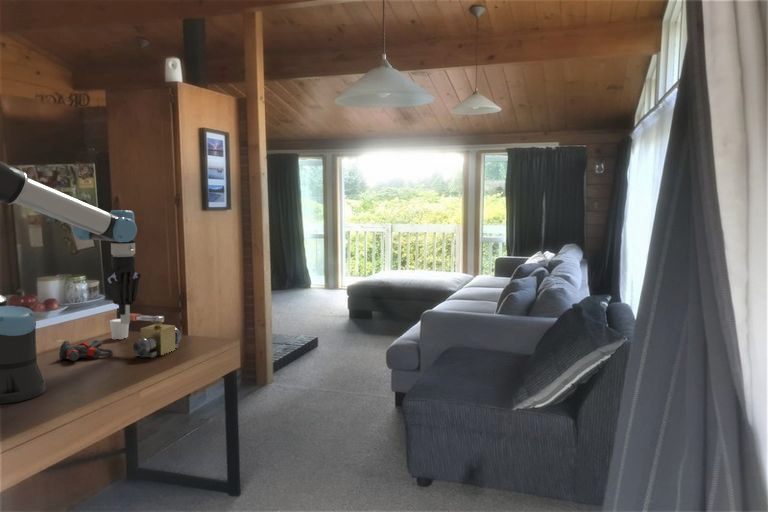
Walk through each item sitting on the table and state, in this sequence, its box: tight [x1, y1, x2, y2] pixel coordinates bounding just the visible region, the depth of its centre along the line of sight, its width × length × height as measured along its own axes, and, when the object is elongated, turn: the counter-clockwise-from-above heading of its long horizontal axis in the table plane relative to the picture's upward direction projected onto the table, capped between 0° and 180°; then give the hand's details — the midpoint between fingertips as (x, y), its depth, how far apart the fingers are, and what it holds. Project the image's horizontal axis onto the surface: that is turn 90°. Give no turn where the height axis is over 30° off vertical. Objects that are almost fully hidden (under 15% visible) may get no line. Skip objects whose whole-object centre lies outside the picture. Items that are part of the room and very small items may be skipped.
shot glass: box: [109, 318, 130, 340], centre depth 214 cm, size 7×7×7 cm
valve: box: [58, 339, 114, 362], centre depth 192 cm, size 6×26×15 cm
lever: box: [130, 312, 165, 324], centre depth 196 cm, size 16×4×2 cm, turn 75°
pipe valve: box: [132, 322, 182, 359], centre depth 195 cm, size 18×8×11 cm, turn 165°
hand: (125, 323), depth 192 cm, fingers closed
